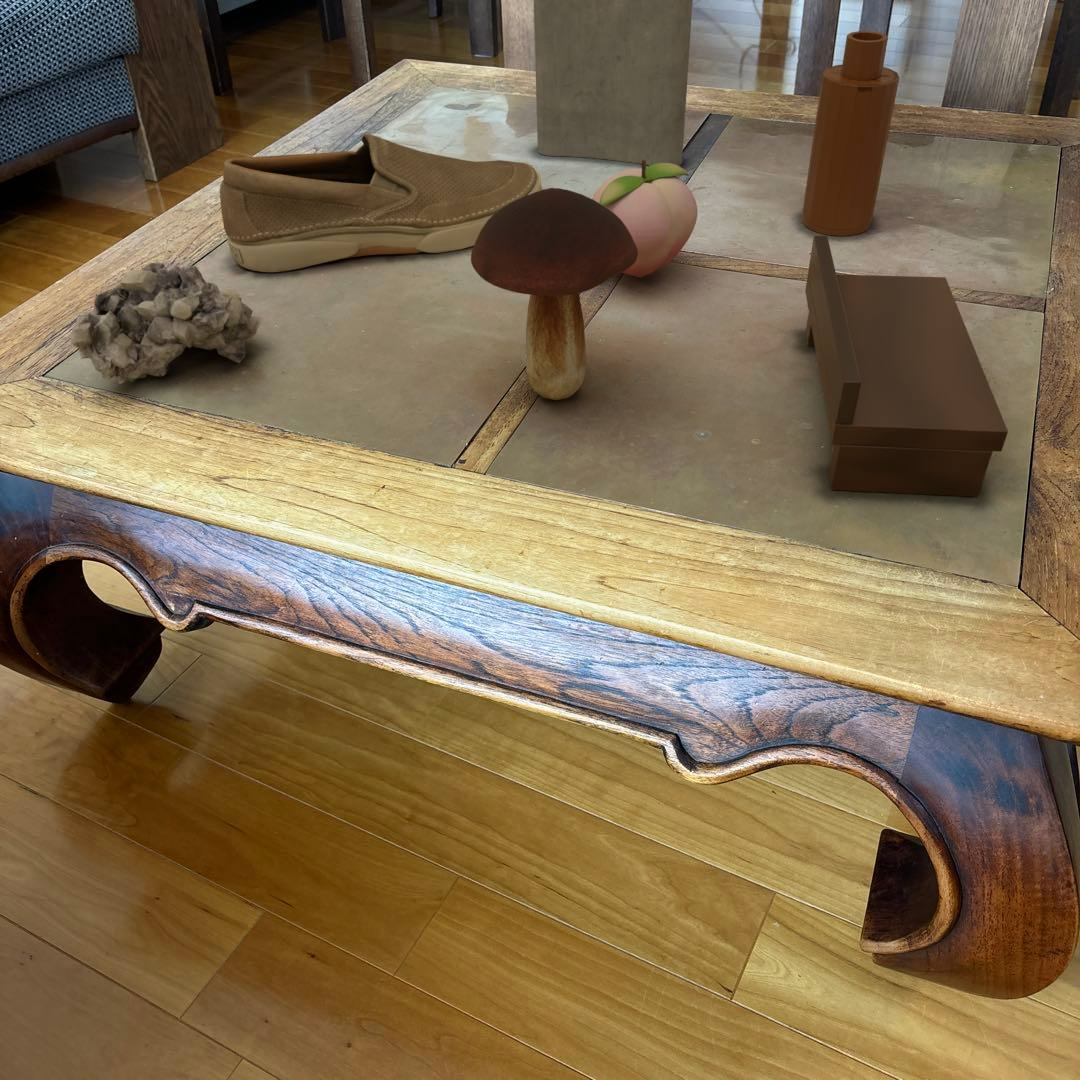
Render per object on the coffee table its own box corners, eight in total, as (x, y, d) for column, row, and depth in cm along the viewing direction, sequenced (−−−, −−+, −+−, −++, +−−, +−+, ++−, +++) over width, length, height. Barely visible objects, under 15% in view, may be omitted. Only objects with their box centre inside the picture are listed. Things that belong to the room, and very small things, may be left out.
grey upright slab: (533, 154, 110) (527, -58, 97) (546, 141, 113) (541, -66, 100) (677, 169, 106) (691, -50, 93) (687, 155, 109) (701, -59, 96)
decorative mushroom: (531, 455, 68) (523, 242, 59) (453, 382, 76) (435, 182, 66) (662, 404, 73) (675, 198, 63) (577, 340, 80) (576, 146, 70)
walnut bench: (930, 336, 79) (955, 238, 74) (986, 497, 64) (1022, 388, 59) (798, 332, 80) (813, 235, 75) (822, 489, 65) (844, 381, 60)
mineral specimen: (59, 373, 71) (97, 232, 69) (74, 353, 79) (108, 227, 77) (235, 426, 75) (276, 296, 73) (232, 402, 84) (268, 284, 82)
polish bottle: (865, 209, 97) (900, 26, 87) (874, 236, 92) (911, 47, 82) (799, 207, 98) (825, 25, 87) (804, 235, 93) (832, 46, 83)
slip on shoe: (528, 190, 102) (525, 98, 97) (561, 235, 94) (559, 137, 88) (228, 233, 97) (205, 137, 91) (235, 285, 88) (211, 183, 83)
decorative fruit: (634, 244, 93) (638, 131, 86) (708, 270, 88) (717, 154, 82) (564, 280, 88) (562, 163, 81) (638, 310, 83) (642, 189, 77)
